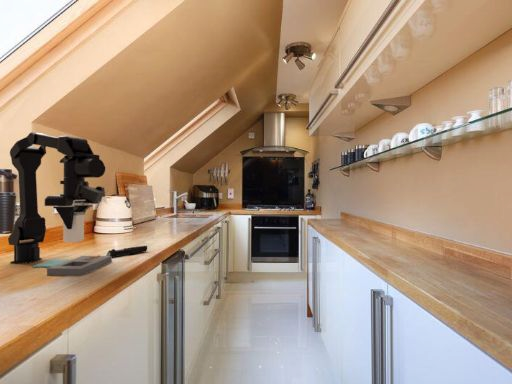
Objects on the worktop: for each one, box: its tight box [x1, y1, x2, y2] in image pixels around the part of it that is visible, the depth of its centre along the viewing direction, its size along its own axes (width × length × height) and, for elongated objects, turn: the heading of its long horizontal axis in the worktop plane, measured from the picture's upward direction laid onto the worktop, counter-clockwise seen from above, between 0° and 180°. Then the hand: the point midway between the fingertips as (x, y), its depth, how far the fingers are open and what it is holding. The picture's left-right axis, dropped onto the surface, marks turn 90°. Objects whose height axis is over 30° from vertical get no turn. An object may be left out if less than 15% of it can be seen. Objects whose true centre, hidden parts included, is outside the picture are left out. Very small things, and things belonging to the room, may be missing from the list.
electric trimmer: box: [105, 245, 148, 259], centre depth 120 cm, size 4×16×3 cm, turn 138°
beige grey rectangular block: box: [62, 212, 85, 243], centre depth 97 cm, size 4×4×9 cm
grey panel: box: [46, 254, 113, 277], centre depth 99 cm, size 10×18×2 cm, turn 179°
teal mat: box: [31, 258, 73, 269], centre depth 104 cm, size 10×10×1 cm
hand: (73, 228), depth 97 cm, fingers closed on beige grey rectangular block, 4 cm apart
